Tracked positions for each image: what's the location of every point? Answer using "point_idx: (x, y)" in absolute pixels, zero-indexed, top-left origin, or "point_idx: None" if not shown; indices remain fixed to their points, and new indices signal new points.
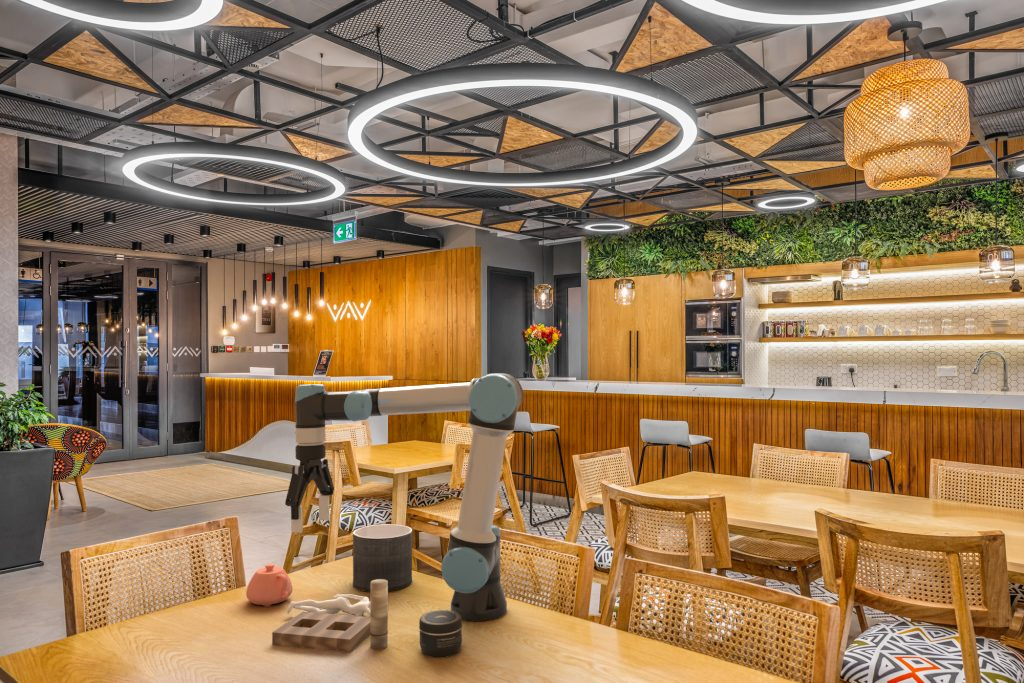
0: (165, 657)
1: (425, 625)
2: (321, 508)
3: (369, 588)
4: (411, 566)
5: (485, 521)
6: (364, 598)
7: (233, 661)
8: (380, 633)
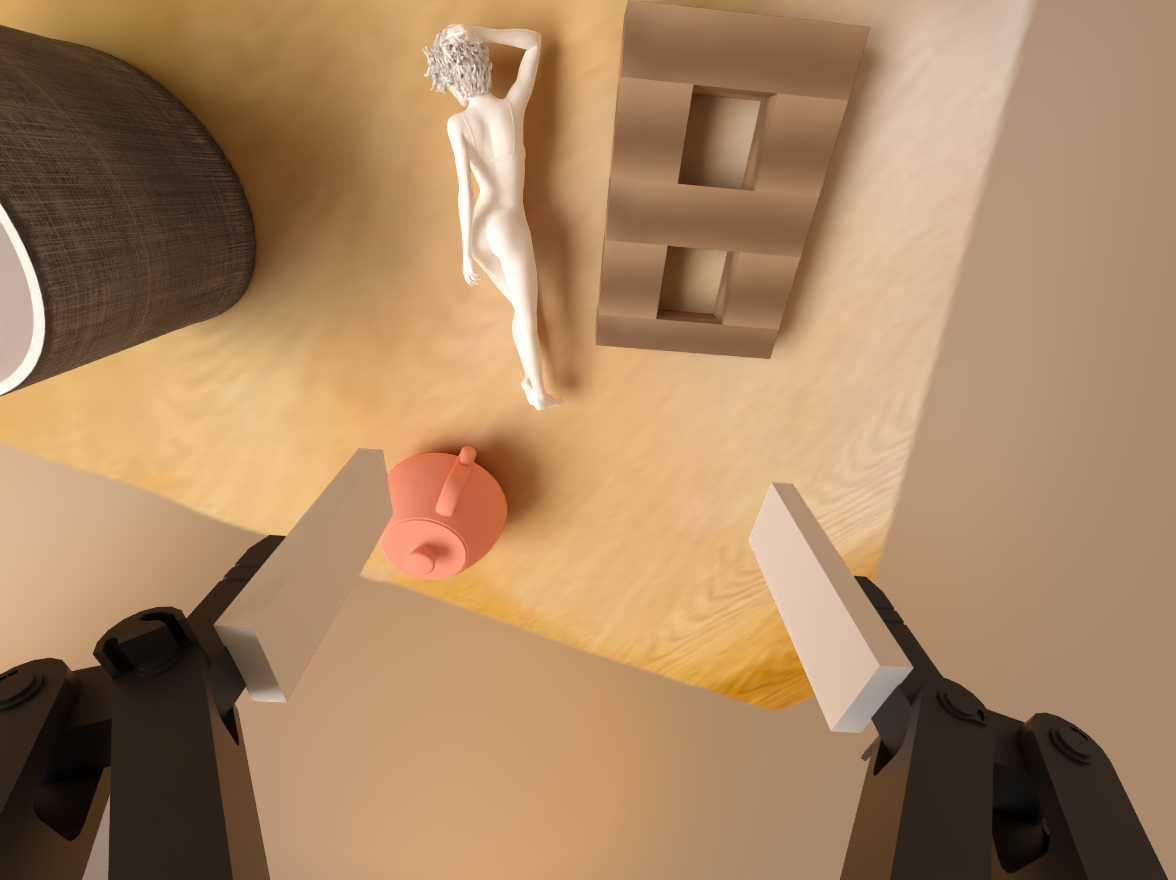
0: None
1: None
2: (347, 566)
3: (243, 218)
4: None
5: None
6: (468, 132)
7: (853, 392)
8: None
